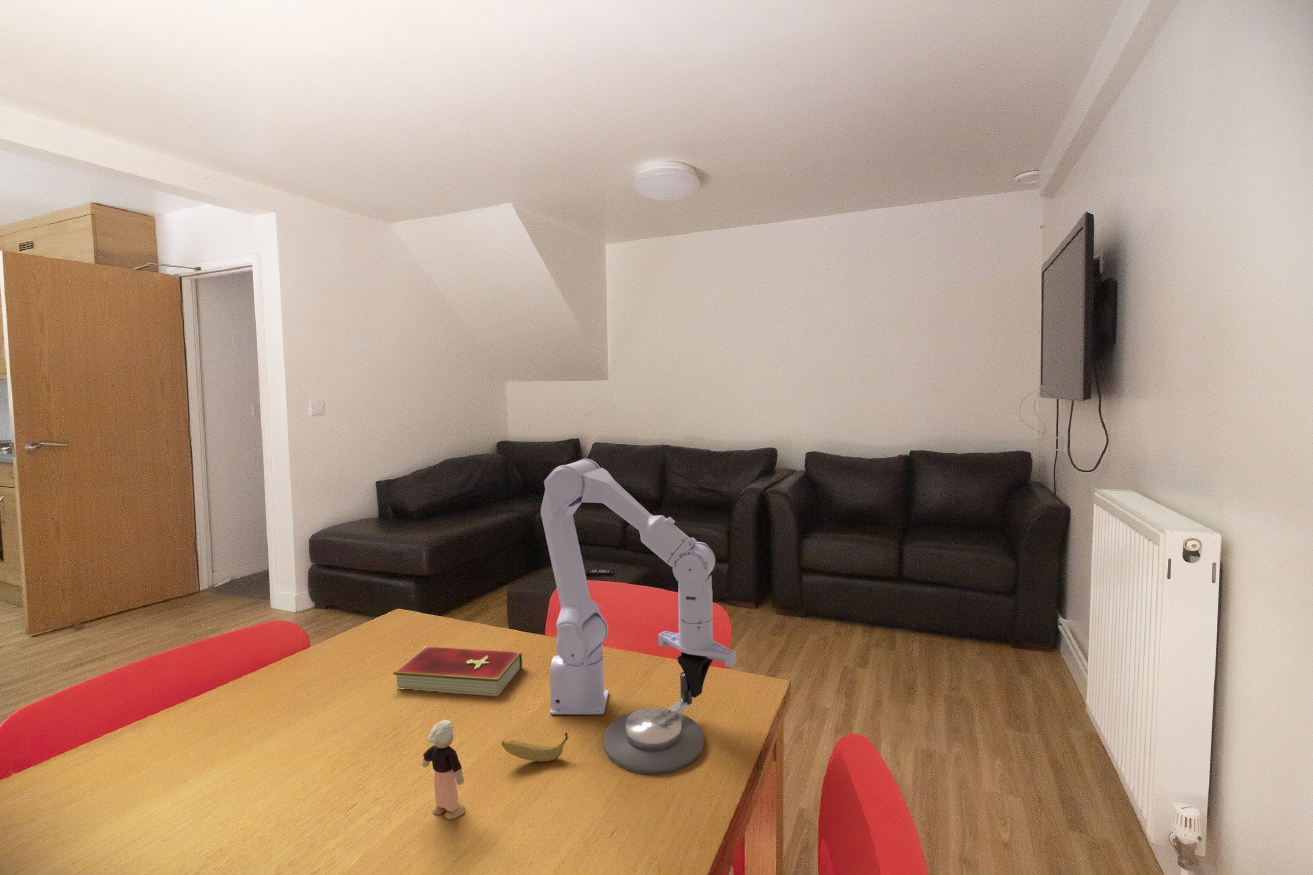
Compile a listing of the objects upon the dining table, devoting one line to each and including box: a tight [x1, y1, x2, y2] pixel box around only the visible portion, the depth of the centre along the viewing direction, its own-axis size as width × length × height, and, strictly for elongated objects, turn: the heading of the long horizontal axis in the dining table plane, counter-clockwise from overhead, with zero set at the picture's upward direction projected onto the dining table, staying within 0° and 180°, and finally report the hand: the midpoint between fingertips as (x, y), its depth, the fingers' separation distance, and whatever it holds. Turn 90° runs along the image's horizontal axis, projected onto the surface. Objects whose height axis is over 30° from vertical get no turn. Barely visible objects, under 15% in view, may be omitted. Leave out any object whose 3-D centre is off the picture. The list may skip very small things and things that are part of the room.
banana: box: [501, 732, 569, 763], centre depth 97 cm, size 10×2×4 cm, turn 98°
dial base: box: [603, 712, 704, 775], centre depth 102 cm, size 16×16×1 cm
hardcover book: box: [393, 646, 523, 697], centre depth 124 cm, size 12×21×4 cm, turn 81°
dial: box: [626, 671, 693, 750], centre depth 103 cm, size 14×9×6 cm, turn 141°
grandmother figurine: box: [421, 719, 466, 821], centre depth 86 cm, size 8×4×13 cm, turn 71°
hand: (696, 694), depth 107 cm, fingers closed
